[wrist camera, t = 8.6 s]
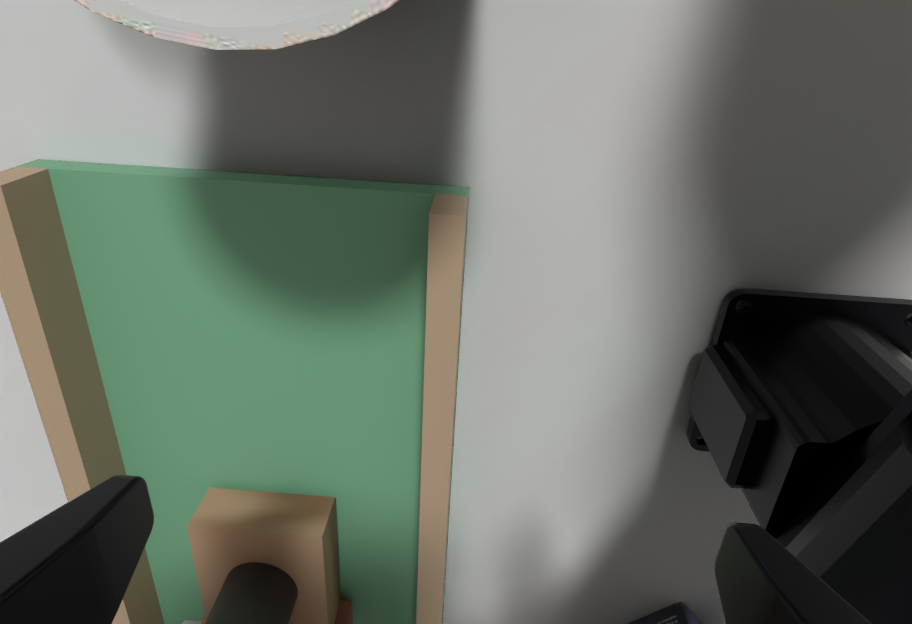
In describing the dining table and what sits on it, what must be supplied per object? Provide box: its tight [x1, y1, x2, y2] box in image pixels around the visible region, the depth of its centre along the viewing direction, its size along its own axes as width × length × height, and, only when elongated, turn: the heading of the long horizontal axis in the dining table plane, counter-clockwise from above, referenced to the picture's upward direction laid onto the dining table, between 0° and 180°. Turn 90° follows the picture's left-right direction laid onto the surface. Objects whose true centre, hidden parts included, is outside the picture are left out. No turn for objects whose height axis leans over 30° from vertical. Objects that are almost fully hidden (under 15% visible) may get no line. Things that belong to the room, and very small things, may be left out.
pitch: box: [0, 160, 469, 624], centre depth 23 cm, size 14×27×5 cm, turn 177°
